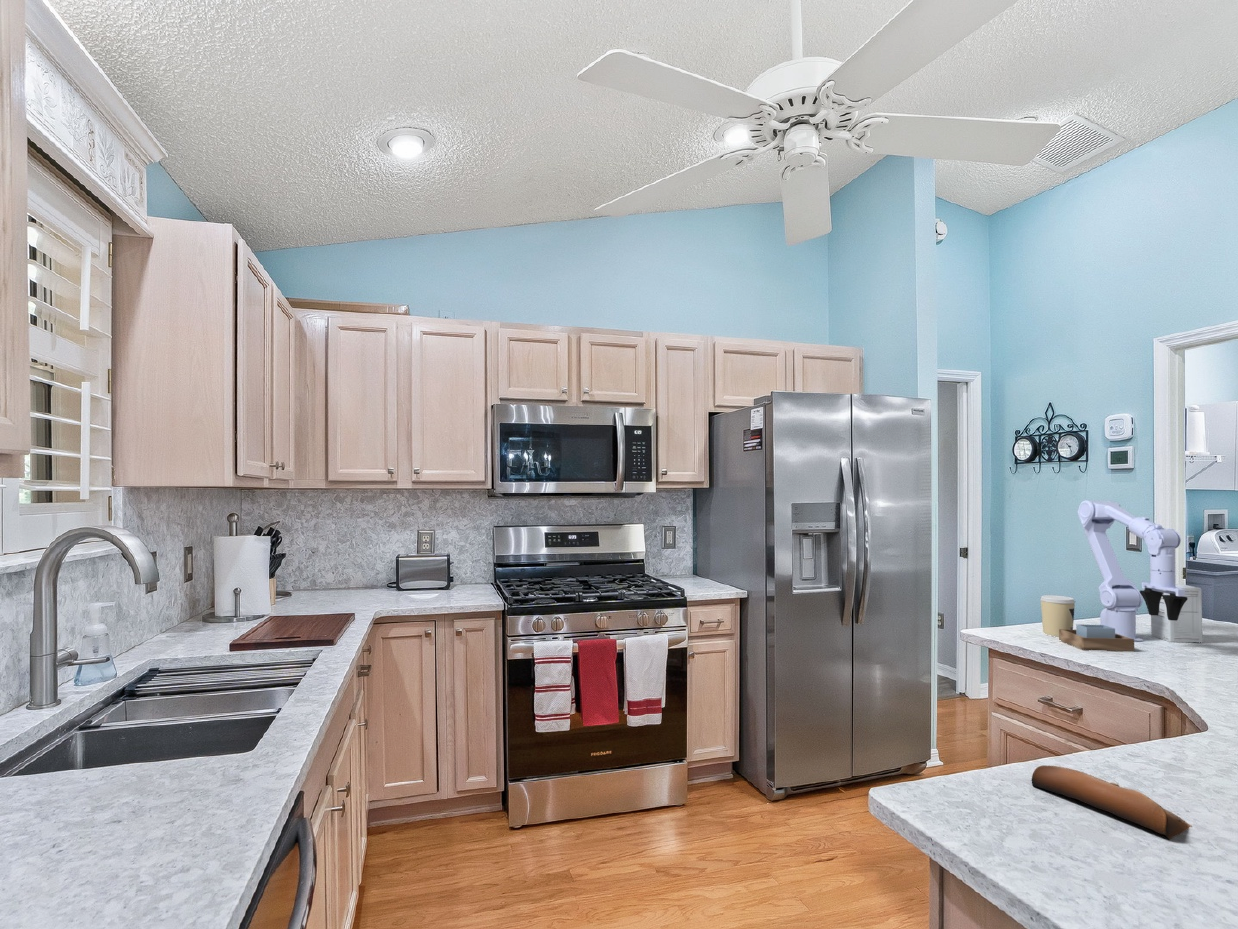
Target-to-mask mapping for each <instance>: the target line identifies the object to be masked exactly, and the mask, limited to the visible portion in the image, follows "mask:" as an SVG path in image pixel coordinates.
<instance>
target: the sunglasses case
mask: <svg viewBox="0 0 1238 929" xmlns="http://www.w3.org/2000/svg"><path fill="white" fill-rule="evenodd" d="M1031 785H1032V786H1033V787H1034V788H1036V787H1037V788H1039V789H1042V790H1045V791H1048V792H1052V793H1055V794H1057V795H1063V796H1065V797H1067V798H1072V799H1076V800H1079V801H1080V802H1081V803H1085V804H1087V805H1090V806H1091V807H1094V808H1097V809H1099V810H1103V811H1105V812H1109V813H1111V814H1113V815H1115V816H1117V817H1119V818H1122V819H1124V820H1126V821H1130V822H1131V823H1133V824H1134V823H1135V824H1137V825H1140V826H1142V827H1145V828H1147V829H1150V830H1152V831H1154V832H1156V833H1158V834H1160V835H1164V836H1165V838H1166V839H1167V840H1171V839H1172V838H1174V837H1176V836H1178V835H1181V833H1183V832H1185V831H1187V830H1188V829H1190V828H1193V826H1192V825H1191V824H1189V823H1188V822H1187V821H1186V820H1184V819H1183V818H1181V817H1179V816H1178V815H1176V814H1175V813H1173V812H1172V811H1170V810H1167V809H1166V808H1164V807H1162V806H1161V805H1160V804H1159V803H1157V802H1155V801H1154V800H1153V799H1152V798H1150V797H1148V796H1147V795H1146V794H1143V793H1142V792H1140V791H1137V790H1135V789H1131V788H1127V787H1122V786H1120V785H1119V784H1117V783H1115V782H1110V781H1109V782H1108V781H1106V780H1105V779H1101V778H1099V777H1096V776H1095V775H1091V774H1088V773H1085V772H1084V771H1080V770H1077V769H1076V770H1075V769H1072V768H1070V767H1069V768H1068V767H1063V766H1062V767H1061V766H1056V765H1043V764H1042V765H1040V766H1038V767H1036V768H1035V769H1034V771H1033V772H1032V775H1031Z"/></svg>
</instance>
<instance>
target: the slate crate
mask: <svg viewBox="0 0 1238 929" xmlns="http://www.w3.org/2000/svg"><path fill="white" fill-rule="evenodd" d="M1075 628H1076V629H1075V630H1076V635H1079V636H1082V637H1085V638H1115V628H1112V627H1109V626H1106V625H1100V624H1085V623H1083V624H1080V623H1079V624H1077V623H1076V626H1075Z"/></svg>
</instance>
